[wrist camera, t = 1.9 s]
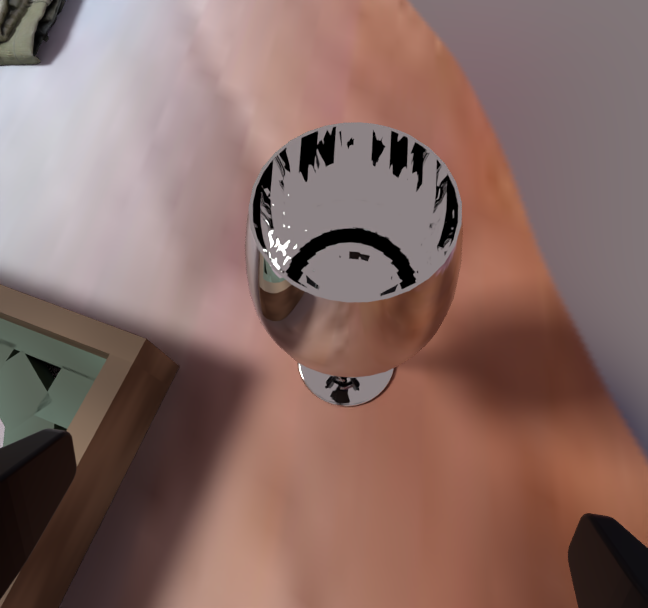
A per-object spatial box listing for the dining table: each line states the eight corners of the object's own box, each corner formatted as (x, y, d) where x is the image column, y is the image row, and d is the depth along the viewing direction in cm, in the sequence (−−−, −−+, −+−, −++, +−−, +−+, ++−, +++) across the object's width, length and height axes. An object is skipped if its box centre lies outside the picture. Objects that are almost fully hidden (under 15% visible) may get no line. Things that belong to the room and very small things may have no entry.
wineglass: (257, 372, 21) (167, 234, 10) (330, 278, 23) (322, 70, 12) (364, 449, 20) (397, 387, 9) (432, 342, 21) (535, 175, 10)
